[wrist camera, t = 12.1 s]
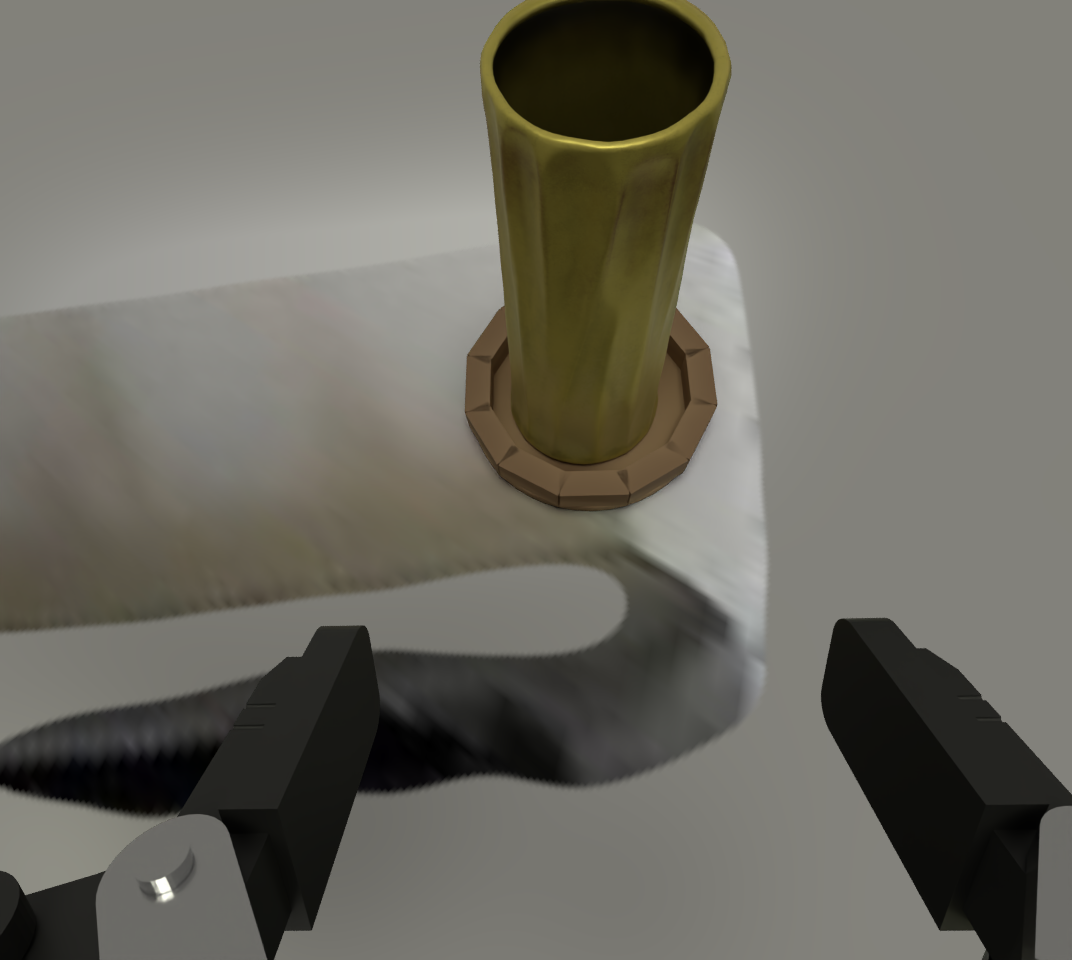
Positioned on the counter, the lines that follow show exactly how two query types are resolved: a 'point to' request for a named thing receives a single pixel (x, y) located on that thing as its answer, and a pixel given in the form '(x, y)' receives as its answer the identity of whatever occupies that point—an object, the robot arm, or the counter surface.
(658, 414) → the round tray
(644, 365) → the vase
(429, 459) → the counter surface
